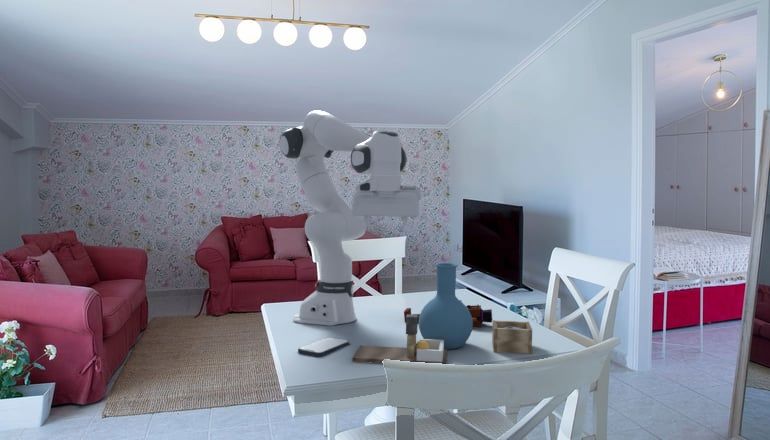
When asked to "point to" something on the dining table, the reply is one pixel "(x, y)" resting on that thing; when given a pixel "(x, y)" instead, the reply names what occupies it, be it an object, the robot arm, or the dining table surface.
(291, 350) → the dining table surface
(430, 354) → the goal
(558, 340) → the dining table surface
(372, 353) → the board
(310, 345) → the phone case
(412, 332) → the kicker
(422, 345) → the ball
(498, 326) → the box
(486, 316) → the toy
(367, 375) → the dining table surface
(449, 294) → the vase
